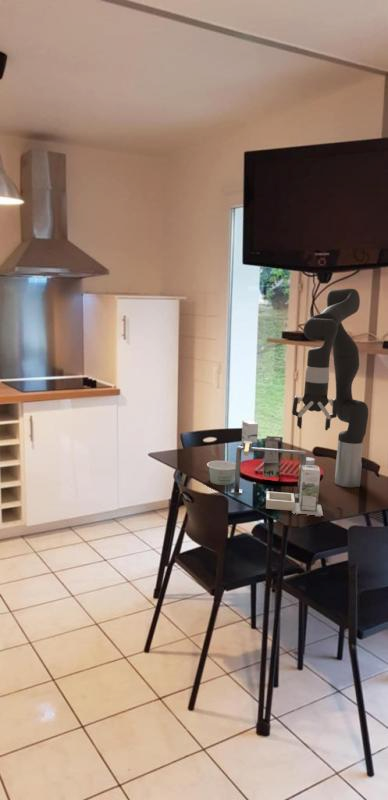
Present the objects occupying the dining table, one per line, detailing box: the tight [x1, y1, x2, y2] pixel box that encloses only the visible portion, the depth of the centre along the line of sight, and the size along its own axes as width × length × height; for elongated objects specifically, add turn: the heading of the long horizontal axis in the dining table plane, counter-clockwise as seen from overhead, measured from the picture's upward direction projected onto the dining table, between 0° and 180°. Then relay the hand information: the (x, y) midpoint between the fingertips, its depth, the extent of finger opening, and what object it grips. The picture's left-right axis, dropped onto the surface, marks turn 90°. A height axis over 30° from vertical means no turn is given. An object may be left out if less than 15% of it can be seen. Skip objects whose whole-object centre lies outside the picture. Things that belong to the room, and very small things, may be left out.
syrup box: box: [298, 465, 321, 511], centre depth 206 cm, size 6×6×14 cm
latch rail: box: [230, 445, 307, 500], centre depth 220 cm, size 27×4×17 cm, turn 83°
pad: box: [291, 502, 324, 517], centre depth 207 cm, size 10×10×1 cm
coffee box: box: [262, 435, 283, 478], centre depth 240 cm, size 9×6×16 cm
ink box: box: [241, 419, 259, 448], centre depth 291 cm, size 9×5×12 cm, turn 17°
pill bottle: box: [297, 456, 316, 489], centre depth 229 cm, size 6×6×12 cm
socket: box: [265, 490, 296, 512], centre depth 211 cm, size 10×10×3 cm
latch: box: [242, 441, 252, 456], centre depth 213 cm, size 3×15×2 cm, turn 173°
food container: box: [206, 460, 236, 486], centre depth 235 cm, size 12×12×6 cm
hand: (313, 429), depth 202 cm, fingers open, 8 cm apart
